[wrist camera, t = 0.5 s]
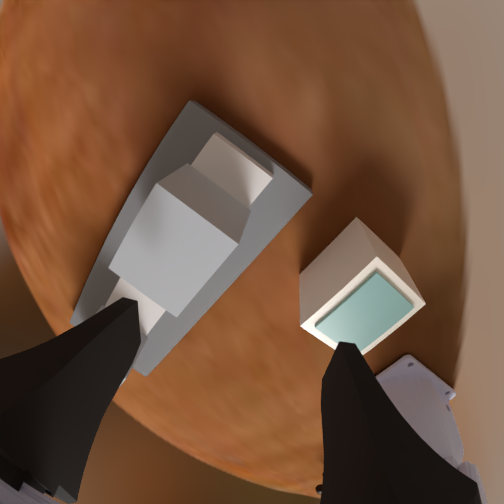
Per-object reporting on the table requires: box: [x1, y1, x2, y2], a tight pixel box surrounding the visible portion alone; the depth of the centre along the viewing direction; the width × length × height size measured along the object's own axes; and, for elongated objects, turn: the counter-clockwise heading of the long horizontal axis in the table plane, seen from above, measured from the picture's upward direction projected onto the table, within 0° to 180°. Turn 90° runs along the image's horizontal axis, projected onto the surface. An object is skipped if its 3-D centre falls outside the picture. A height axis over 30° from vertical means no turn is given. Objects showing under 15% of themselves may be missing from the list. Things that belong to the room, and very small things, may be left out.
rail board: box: [70, 100, 313, 387], centre depth 18 cm, size 8×20×6 cm, turn 143°
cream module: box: [299, 217, 426, 355], centre depth 16 cm, size 4×5×5 cm
